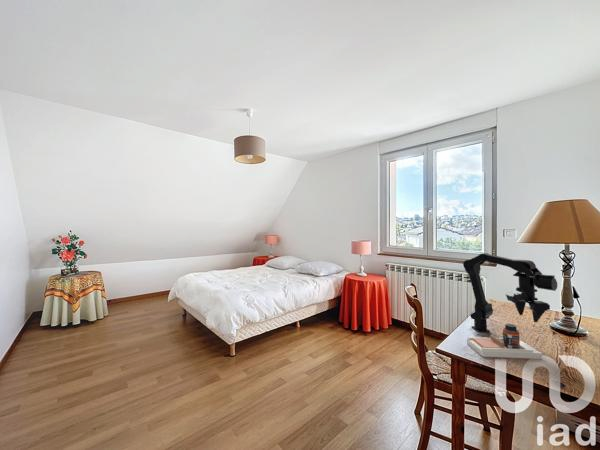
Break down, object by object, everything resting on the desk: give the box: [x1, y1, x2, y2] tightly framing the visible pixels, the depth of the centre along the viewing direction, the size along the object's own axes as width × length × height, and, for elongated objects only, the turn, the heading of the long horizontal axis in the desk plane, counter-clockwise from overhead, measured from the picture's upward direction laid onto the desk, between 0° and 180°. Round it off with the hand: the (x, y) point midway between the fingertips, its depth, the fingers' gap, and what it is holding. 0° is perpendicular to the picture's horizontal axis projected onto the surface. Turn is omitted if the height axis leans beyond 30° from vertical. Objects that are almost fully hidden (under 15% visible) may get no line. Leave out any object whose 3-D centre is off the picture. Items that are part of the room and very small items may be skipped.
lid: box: [473, 334, 507, 349], centre depth 117 cm, size 9×9×3 cm
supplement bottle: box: [502, 323, 520, 349], centre depth 116 cm, size 6×6×11 cm
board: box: [466, 336, 543, 360], centre depth 117 cm, size 13×24×3 cm, turn 83°
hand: (527, 318), depth 121 cm, fingers open, 9 cm apart
